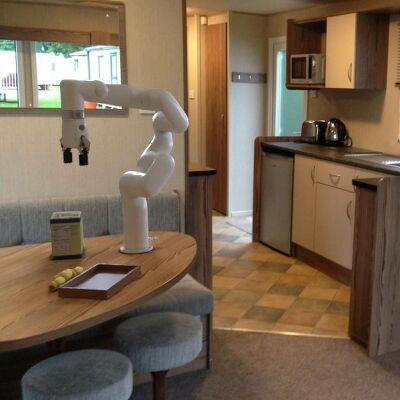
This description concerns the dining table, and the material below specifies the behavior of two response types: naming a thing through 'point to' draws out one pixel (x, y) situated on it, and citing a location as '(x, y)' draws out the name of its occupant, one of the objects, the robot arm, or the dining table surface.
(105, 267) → the tray
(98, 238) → the dining table surface
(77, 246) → the protein box
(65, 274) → the banana
